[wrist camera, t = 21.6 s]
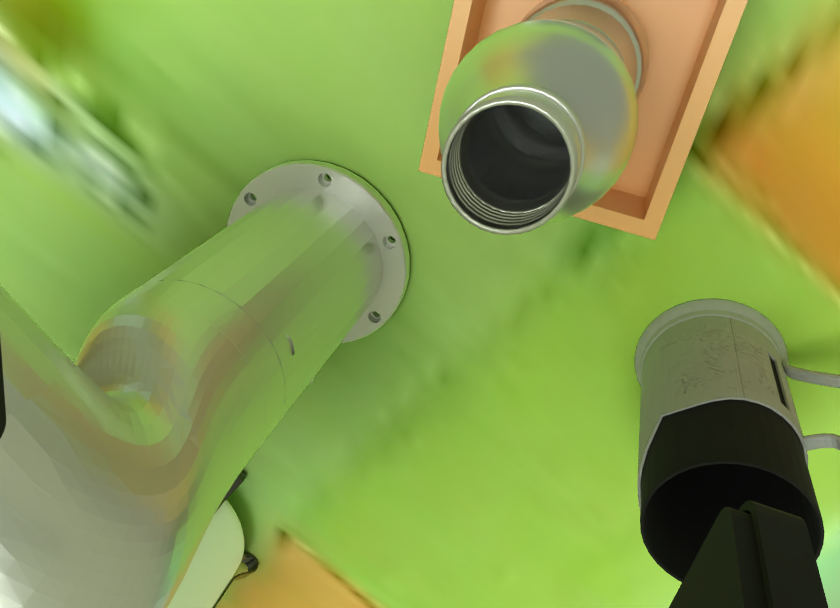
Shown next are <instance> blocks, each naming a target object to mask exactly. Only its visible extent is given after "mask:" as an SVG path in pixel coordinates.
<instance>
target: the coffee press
mask: <svg viewBox="0 0 840 608" xmlns="http://www.w3.org/2000/svg"><path fill="white" fill-rule="evenodd" d="M245 478H246V475H245V474H244V473H243V472H242V471H241V473H240V474H239V475H238V477H237V478H236V480H235V481H234V483H233V484H232V486H231V488H230V489H229V491H228V492H227V494H226V495H225V497H224V498H223V500H222V502H221V504H220V505H219V507H218V509H217V511H216V512H215V514H214V516H213V518H212V520H211V522H210V524H209V526H208V528H207V530H206V532H205V534H204V536H203V538H202V540H201V542H200V544H199V546H198V549H197V551H196V553H195V555H194V557H193V559H192V561H191V563H190V566H189V568H188V570H187V572H186V574H185V576H184V578H183V580H182V582H181V584H180V586H179V587H178V589H177V591H176V593H175V595H174V596H173V598H172V600H171V602H170V603H169V605H168V607H167V608H215V607H216V605H217V604H218V602H219V601H220V599H221V598H222V596H223V595H224V593H225V592H226V590H227V589H228V587H229V586H230V584H231V583H232V582H233V581H234V580H238V579H242V578H245V577H247V576H248V575H250V574H251V573H253V572H254V571H256V570H257V568H258V561H257V559H256V558H255V557H254V556H253V555H251V554H243V553H244V534H243V530H242V526H241V523H240V521H239V518H238V516H237V514H236V513H235V511H234V509H233V508H232V506H231V505H230V503H229V502H228V501H227V500H226V499H227V498H228V497H229V496H230V495H231V494H232V492H233V491H234V490H235V489H236V488H237V487H238V486H239V485H240V484H241V483H242V482H243V481H244V479H245ZM241 562H244V563H245V564H246V565H247V567H248V572H244V573H241V574H238V575H236V576H235V577H233V575H234V573H235V572H236V570H237V569H238V567H239V565H240V563H241ZM232 577H233V578H232ZM231 578H232V579H231Z"/></svg>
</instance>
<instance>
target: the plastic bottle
mask: <svg viewBox="0 0 840 608" xmlns="http://www.w3.org/2000/svg"><path fill="white" fill-rule="evenodd" d="M648 67H649V49H648V44H647V39H646V35H645V33H644V31H643V28H642V26H641V24H640V22H639V20H638V19H637V18H636V16H635V15H634V13H633V12H632V11H631V10H630V9H629V8H628V7H627V6H626V5H625V4H623V3H622V2H621V1H620V0H544V1H543V2H541V3H540V4H538V5H536V6H535V7H534V8H533V9H532V10H531V11H530V12H529V13H528V14H527V15H526V16H525V17H524V18H523V20H522V21H521V22H520V23H516V24H514V25H511V26H508V27H506V28H503V29H500V30H498V31H496V32H495V33H493V34H491V35H490V36H488V37H486V38H485V39H483V40H482V41H480V42H479V43H478V44H477V45H476V46H475V47H474V48H473V49H472V50H471V51H469V52H468V53H467V54H466V55H465V57H464V58H463V59H462V61H461V62H460V63H459V65H458V66H457V68H456V69H455V70H454V72H453V74H452V76H451V78H450V80H449V82H448V84H447V86H446V89H445V91H444V95H443V99H442V103H441V106H440V114H439V128H438V129H439V141H440V150H441V155H442V160H441V175H442V183H443V186H444V189H445V192H446V195H447V197H448V199H449V200H450V202H451V204H452V206H453V207H454V208H455V209H456V211H457V212H458V213H459V214H460V215H461V216H462V217H463V218H464V219H465V220H467V221H468V222H469V223H470V224H472V225H474V226H476V227H478V228H479V229H481V230H485V231H488V232H491V233H495V234H503V235H511V234H520V233H524V232H528V231H531V230H533V229H535V228H538V227H540V226H542V225H543V224H547V223H551V222H555V221H559V220H562V219H565V218H568V217H570V216H572V215H574V214H577V213H579V212H581V211H583V210H585V209H587V208H588V207H589V206H591V205H592V204H594V203H595V202H596V201H598V200H599V199H600V198H602V197H603V196H604V195H605V194H606V193H607V192H608V190H609V189H610V188H611V187H612V186H613V185H614V184H615V183H616V182H617V180H618V178H619V177H620V175H621V174H622V172H623V171H624V169H625V168H626V166H627V164H628V161H629V159H630V156H631V154H632V151H633V149H634V145H635V140H636V135H637V130H638V104H637V99H638V98H639V96H640V94H641V92H642V89H643V87H644V84H645V82H646V78H647V72H648Z"/></svg>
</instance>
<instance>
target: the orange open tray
mask: <svg viewBox="0 0 840 608" xmlns="http://www.w3.org/2000/svg"><path fill="white" fill-rule="evenodd" d="M543 1H544V0H454V4H453V9H452V14H451V19H450V23H449V28H448V33H447V38H446V42H445V47H444V52H443V57H442V61H441V66H440V71H439V76H438V80H437V85H436V90H435V95H434V99H433V104H432V109H431V114H430V118H429V123H428V128H427V132H426V137H425V142H424V147H423V151H422V156H421V161H420V166H419V170H418V171H421V172H424V173H428V174H431V175H435V176H438V177H441V178H442V175H441V160H442V155H441V150H440V141H439V129H438V128H439V114H440V106H441V103H442V99H443V95H444V91H445V89H446V86H447V84H448V82H449V80H450V78H451V76H452V74H453V72H454V70H455V69H456V68H457V66H458V65H459V63H460V62H461V61H462V59H463V58H464V57H465V55H466V54H467V53H468V52H469V51H471V50H472V49H473V48H474V47H475V46H476V45H477V44H478V43H479V42H480V41H482V40H483V39H485V38H486V37H488V36H490V35H491V34H493V33H495V32H496V31H498V30H500V29H503V28H506V27H508V26H511V25H514V24H516V23H520V22H521V21H522V20H523V18H524V17H525V16H526V15H527V14H528V13H529V12H530V11H531V10H532V9H533V8H534V7H535V6H536V5H538V4H540V3H541V2H543ZM620 1H621V2H622V3H623V4H625V5H626V6H627V7H628V8H629V9H630V10H631V11H632V12H633V13H634V15H635V16H636V18H637V19H638V20H639V22H640V24H641V26H642V28H643V31H644V33H645V35H646V39H647V44H648V49H649V67H648V72H647V78H646V82H645V84H644V87H643V89H642V92H641V94H640V96H639V98H638V99H637V104H638V130H637V135H636V140H635V145H634V149H633V151H632V154H631V156H630V159H629V161H628V164H627V166H626V168H625V169H624V171H623V172H622V174H621V175H620V177H619V178H618V180H617V182H616V183H615V184H614V185H613V186H612V187H611V188H610V189H609V190H608V192H607V193H606V194H605V195H604V196H603V197H602V198H600V199H599V200H598V201H596V202H595V203H594V204H592V205H591V206H589V207H588V208H587V209H585V210H583V211H581V212H579V213H577V214H574V215H572V216H574V217H578V218H581V219H584V220H588V221H591V222H595V223H598V224H601V225H605V226H608V227H612V228H615V229H618V230H622V231H625V232H629V233H632V234H636V235H639V236H642V237H646V238H649V239H653V240H655V239H656V236H657V234H658V231H659V229H660V226H661V223H662V221H663V218H664V216H665V213H666V210H667V208H668V205H669V203H670V200H671V198H672V195H673V192H674V190H675V187H676V185H677V182H678V180H679V177H680V174H681V172H682V169H683V167H684V164H685V162H686V159H687V156H688V154H689V151H690V149H691V146H692V143H693V141H694V138H695V136H696V133H697V131H698V128H699V125H700V123H701V120H702V118H703V115H704V113H705V110H706V107H707V105H708V102H709V100H710V97H711V94H712V92H713V89H714V87H715V84H716V82H717V79H718V76H719V74H720V71H721V69H722V66H723V64H724V61H725V58H726V56H727V53H728V51H729V48H730V45H731V43H732V40H733V38H734V35H735V33H736V30H737V27H738V25H739V22H740V20H741V17H742V15H743V12H744V9H745V7H746V4H747V2H748V0H620Z"/></svg>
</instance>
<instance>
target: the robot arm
mask: <svg viewBox="0 0 840 608" xmlns="http://www.w3.org/2000/svg"><path fill="white" fill-rule="evenodd" d="M327 174H328V175H329V176H330V177H331V180H330V179H329V178H328V177H327ZM254 195H255V196H254ZM255 197H256V198H255ZM390 236H392V237H393V238H394V239H395V240H396V241H393V240H391V238H390ZM409 274H410V255H409V250H408V245H407V239H406V237H405V234H404V231H403V229H402V226H401V223H400V221H399V220H398V218H397V216H396V215H395V213H394V211H393V210H392V208H391V206H390V205H389V204H388V202H387V201H386V200H385V199H384V198H383V197H382V196H381V194H380V193H379V192H378V191H377V190H376V189H375V188H373V187H372V186H371V185H370V184H369V183H367V182H366V181H365V180H364V179H363V178H361V177H359V176H357V175H356V174H354V173H352V172H350V171H349V170H347V169H345V168H342V167H339V166H336V165H333V164H330V163H327V162H320V161H314V160H299V161H290V162H287V163H283V164H279V165H276V166H274V167H272V168H270V169H268V170H266V171H265V172H263V173H261V174H260V175H258V176H257V177H256V178H254V179H253V180H251V181H250V182H249V183H248V184H247V185H246V186H245V187H244V188H243V189H242V190H241V192H240V193H239V195H238V197H237V199H236V200H235V202H234V204H233V206H232V208H231V212H230V215H229V218H228V222H227V227H226V228H225V229H223V230H222V231H221V232H219V233H218V234H216V235H215V236H213V237H212V238H210V239H209V240H207V241H206V242H204V243H203V244H201V245H200V246H198V247H197V248H196V249H194V250H193V251H191V252H190V253H188V254H187V255H185V256H184V257H182V258H181V259H179V260H178V261H176V262H175V263H173V264H172V265H170V266H169V267H168V268H166V269H165V270H163V271H162V272H160V273H159V274H157V275H156V276H154V277H153V278H151V279H150V280H148V281H147V282H145V283H144V284H143V285H141V286H140V287H138V288H137V289H135V290H133V291H132V292H130V293H129V294H127V295H126V296H124V297H123V298H122V299H120V300H119V301H118V302H116V303H115V304H114V305H112V306H111V307H110V308H109V309H108V310H107V311H106V312H105V313H104V314H103V315H102V316H101V317H100V319H99V320H98V321H97V322H96V323H95V325H94V326H93V327H92V329H91V331H90V332H89V334H88V336H87V337H86V339H85V341H84V343H83V345H82V347H81V349H80V351H79V353H78V356H77V359H76V362H75V364H74V363H73V362H72V361H71V360H70V359H69V358H68V357H67V356H66V355H65V354H64V353H63V352H62V350H61V349H60V348H59V347H58V346H57V345H56V344H55V343H54V342H53V341H52V340H51V339H50V338H49V336H48V335H47V334H46V333H45V332H44V331H43V330H42V329H41V328H40V327H39V326H38V325H37V324H36V322H35V321H34V320H33V319H32V318H31V317H30V316H29V315H28V314H27V313H26V312H25V311H24V310H23V308H22V307H21V306H20V305H19V304H18V303H17V302H16V301H15V300H14V299H13V298H12V297H11V296H10V294H9V293H8V292H7V291H6V290H5V289H4V288H3V287H2V286H1V285H0V608H167V607H168V605H169V603H170V602H171V600H172V598H173V596H174V595H175V593H176V591H177V589H178V587H179V586H180V584H181V582H182V580H183V578H184V576H185V574H186V572H187V570H188V568H189V566H190V563H191V561H192V559H193V557H194V555H195V553H196V551H197V549H198V546H199V544H200V542H201V540H202V538H203V536H204V534H205V532H206V530H207V528H208V526H209V524H210V522H211V520H212V518H213V516H214V514H215V512H216V511H217V509H218V507H219V505H220V504H221V502H222V500H223V498H224V497H225V495H226V494H227V492H228V491H229V489H230V488H231V486H232V484H233V483H234V481H235V480H236V478H237V477H238V475H239V474H240V473H241V471H242V470H243V469H244V467H245V466H246V465H247V463H248V462H249V460H250V459H251V458H252V456H253V455H254V454H255V452H256V451H257V450H258V448H259V447H260V446H261V444H262V443H263V442H264V441H265V439H266V438H267V437H268V435H269V434H270V433H271V432H272V430H273V429H274V428H275V427H276V425H277V424H278V423H279V421H280V420H281V419H282V418H283V416H284V415H285V414H286V412H287V411H288V410H289V409H290V407H291V406H292V405H293V403H294V402H295V401H296V400H297V398H298V397H299V396H300V394H301V393H302V392H303V391H304V389H305V388H306V387H307V385H308V384H311V383H313V382H314V379H315V375H316V374H317V373H318V371H319V370H320V369H321V367H322V366H323V365H324V364H325V362H326V361H327V360H328V358H329V357H330V356H331V355H332V353H333V352H334V351H335V349H336V348H337V347H338V346H339V344H341V343H347V342H353V341H356V340H358V339H361V338H364V337H366V336H368V335H370V334H371V333H373V332H374V331H376V330H377V329H379V328H381V327H382V326H383V324H384V323H385V322H386V321H387V320H388V319H389V318H390V317H391V316H392V315H393V313H394V312H395V310H396V309H397V307H398V306H399V304H400V302H401V300H402V298H403V296H404V294H405V291H406V288H407V284H408V279H409ZM376 312H377V313H379V314H377V313H376ZM669 608H828V605H827V601H826V597H825V593H824V589H823V585H822V582H821V578H820V574H819V570H818V566H817V563H816V559H815V555H814V551H813V547H812V543H811V540H810V536H809V532H808V528H807V525H806V523H805V521H804V520H803V519H802V518H801V517H798V516H795V515H793V514H790V513H787V512H784V511H781V510H778V509H775V508H772V507H769V506H766V505H763V504H760V503H757V502H754V501H751V500H750V501H746V502H745V503H744V504H743V505H741V507H740V508H739V510H736V509H733V508H730V507H724V508H723V509H722V510H721V512H720V513H719V515H718V516H717V518H716V520H715V522H714V524H713V526H712V528H711V530H710V531H709V533H708V535H707V537H706V539H705V541H704V543H703V545H702V547H701V548H700V550H699V552H698V554H697V556H696V558H695V560H694V562H693V563H692V565H691V567H690V569H689V571H688V573H687V575H686V577H685V578H684V580H683V582H682V584H681V586H680V588H679V590H678V592H677V593H676V595H675V597H674V599H673V601H672V603H671V605H670V607H669Z"/></svg>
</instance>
